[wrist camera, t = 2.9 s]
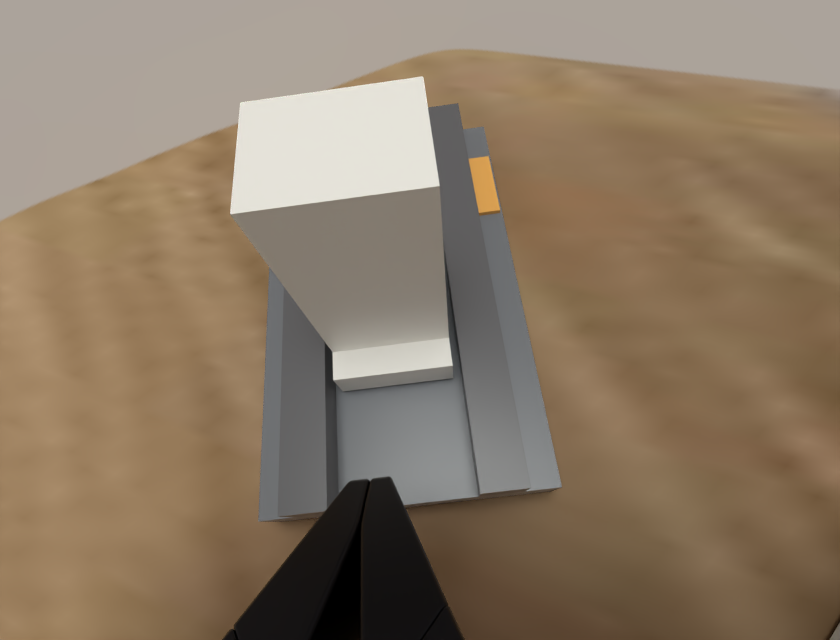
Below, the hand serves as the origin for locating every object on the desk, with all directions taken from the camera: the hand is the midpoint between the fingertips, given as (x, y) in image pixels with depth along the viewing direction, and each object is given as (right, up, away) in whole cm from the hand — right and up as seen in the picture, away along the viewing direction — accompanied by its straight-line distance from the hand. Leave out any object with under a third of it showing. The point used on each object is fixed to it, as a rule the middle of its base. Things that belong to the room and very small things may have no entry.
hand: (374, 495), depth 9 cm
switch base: (0, +4, +11) cm, 12 cm away
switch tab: (0, +3, +8) cm, 9 cm away
